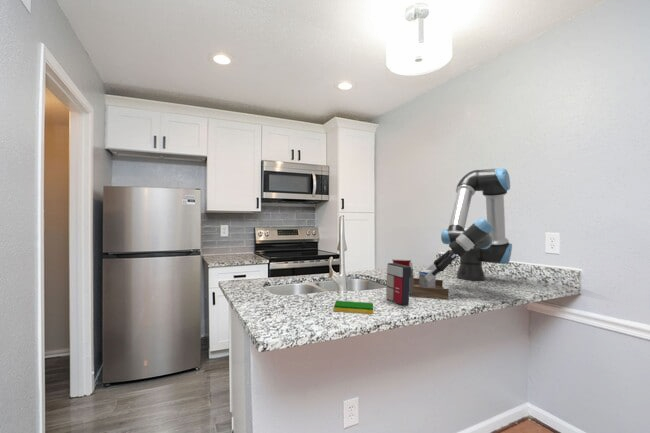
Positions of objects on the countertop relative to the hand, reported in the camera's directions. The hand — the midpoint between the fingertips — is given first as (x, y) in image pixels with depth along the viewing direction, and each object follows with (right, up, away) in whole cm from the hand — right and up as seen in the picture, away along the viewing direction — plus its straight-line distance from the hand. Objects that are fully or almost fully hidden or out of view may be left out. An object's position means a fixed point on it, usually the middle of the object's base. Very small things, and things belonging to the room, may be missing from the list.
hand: (425, 276), depth 143 cm
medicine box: (+1, -6, 0) cm, 6 cm away
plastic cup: (-5, -8, +28) cm, 29 cm away
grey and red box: (-18, -7, -19) cm, 27 cm away
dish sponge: (-37, -6, -32) cm, 49 cm away
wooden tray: (0, -7, 0) cm, 7 cm away
